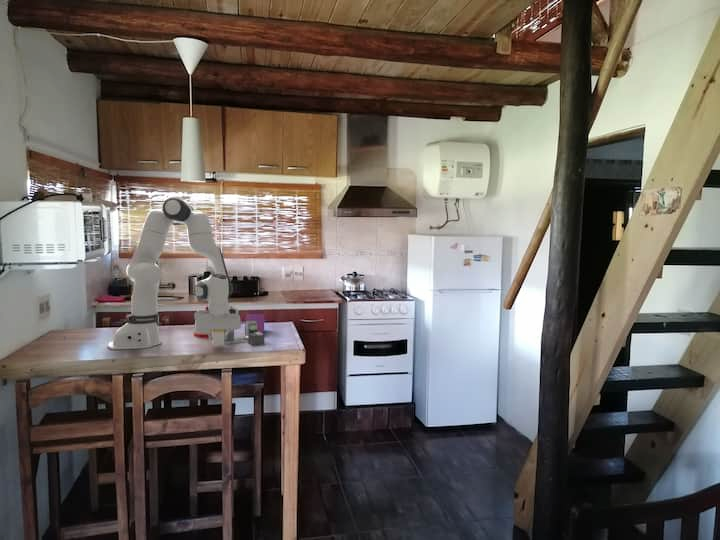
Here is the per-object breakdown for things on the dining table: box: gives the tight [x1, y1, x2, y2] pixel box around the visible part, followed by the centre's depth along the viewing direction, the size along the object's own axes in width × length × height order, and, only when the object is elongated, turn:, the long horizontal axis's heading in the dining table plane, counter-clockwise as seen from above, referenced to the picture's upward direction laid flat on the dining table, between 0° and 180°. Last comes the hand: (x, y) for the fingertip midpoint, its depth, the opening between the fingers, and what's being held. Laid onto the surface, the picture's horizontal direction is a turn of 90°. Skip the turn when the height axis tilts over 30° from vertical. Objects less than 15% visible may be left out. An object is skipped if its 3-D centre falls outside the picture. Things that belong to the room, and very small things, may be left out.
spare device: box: [247, 332, 265, 347], centre depth 229 cm, size 6×5×5 cm
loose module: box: [211, 330, 225, 347], centre depth 220 cm, size 5×4×7 cm
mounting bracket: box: [244, 313, 265, 336], centre depth 251 cm, size 10×8×18 cm
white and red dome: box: [193, 305, 212, 339], centre depth 246 cm, size 14×14×15 cm
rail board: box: [224, 320, 258, 345], centre depth 234 cm, size 20×7×9 cm, turn 116°
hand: (217, 339), depth 220 cm, fingers closed on loose module, 5 cm apart
